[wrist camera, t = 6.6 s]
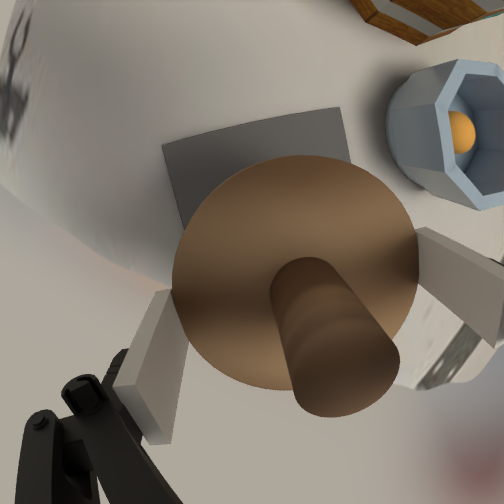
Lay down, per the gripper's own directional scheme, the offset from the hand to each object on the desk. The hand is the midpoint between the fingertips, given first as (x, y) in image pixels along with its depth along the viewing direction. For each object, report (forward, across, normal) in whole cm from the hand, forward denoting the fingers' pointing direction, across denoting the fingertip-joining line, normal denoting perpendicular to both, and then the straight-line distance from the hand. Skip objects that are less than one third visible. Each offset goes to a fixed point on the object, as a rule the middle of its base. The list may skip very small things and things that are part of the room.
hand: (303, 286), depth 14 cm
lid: (+1, 0, 0) cm, 1 cm away
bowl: (+12, +16, +5) cm, 21 cm away
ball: (+10, +16, +5) cm, 20 cm away
